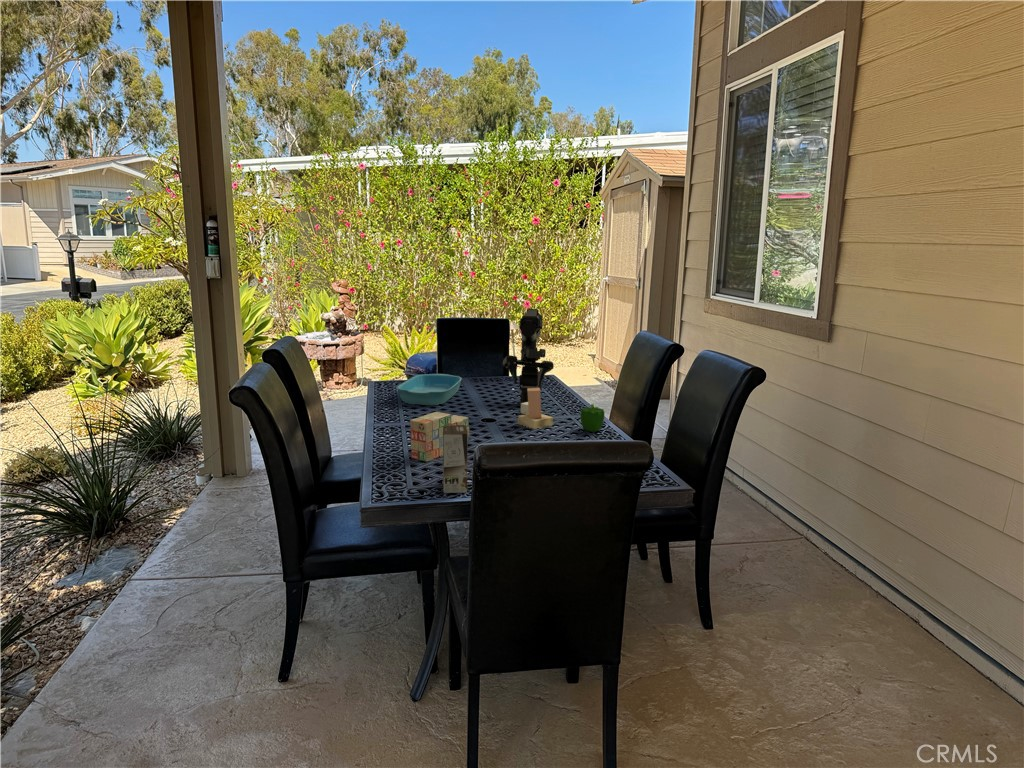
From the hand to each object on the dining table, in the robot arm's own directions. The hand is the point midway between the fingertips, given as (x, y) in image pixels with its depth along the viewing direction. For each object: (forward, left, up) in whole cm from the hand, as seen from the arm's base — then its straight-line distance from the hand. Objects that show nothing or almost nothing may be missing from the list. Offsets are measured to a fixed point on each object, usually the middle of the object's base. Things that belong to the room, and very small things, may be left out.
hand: (527, 385), depth 245 cm
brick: (-5, -5, -13) cm, 14 cm away
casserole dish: (+17, -48, -13) cm, 52 cm away
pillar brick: (+4, +10, -9) cm, 14 cm away
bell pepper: (-10, +26, -13) cm, 31 cm away
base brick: (+3, +10, -13) cm, 17 cm away
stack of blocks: (+47, +21, -13) cm, 53 cm away
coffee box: (+58, +50, -13) cm, 78 cm away
